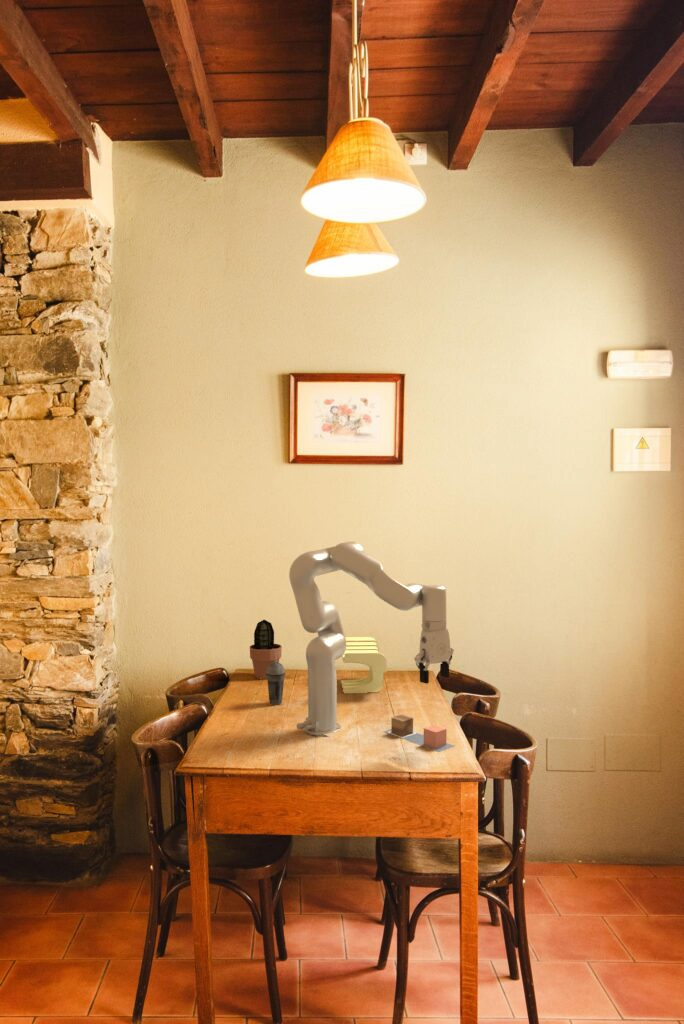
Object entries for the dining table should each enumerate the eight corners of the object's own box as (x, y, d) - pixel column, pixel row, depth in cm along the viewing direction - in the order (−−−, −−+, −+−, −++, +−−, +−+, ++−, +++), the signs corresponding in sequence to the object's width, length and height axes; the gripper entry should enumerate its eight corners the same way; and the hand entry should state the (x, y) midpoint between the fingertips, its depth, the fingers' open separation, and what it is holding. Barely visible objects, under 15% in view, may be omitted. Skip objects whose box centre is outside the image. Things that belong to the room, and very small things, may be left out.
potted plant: (287, 675, 310) (288, 618, 309) (268, 682, 298) (268, 623, 298) (263, 671, 317) (263, 615, 316) (243, 678, 306) (243, 619, 305)
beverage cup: (285, 700, 273) (286, 648, 272) (284, 706, 266) (285, 653, 265) (266, 700, 273) (266, 648, 272) (265, 706, 265) (265, 653, 265)
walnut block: (402, 736, 231) (402, 721, 231) (391, 732, 235) (391, 717, 235) (413, 733, 234) (413, 718, 234) (401, 729, 238) (401, 714, 238)
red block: (435, 748, 221) (435, 732, 221) (423, 744, 224) (423, 728, 224) (446, 744, 224) (446, 728, 224) (434, 740, 228) (434, 724, 228)
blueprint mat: (439, 755, 218) (439, 751, 218) (383, 734, 236) (383, 731, 236) (455, 749, 223) (455, 745, 223) (399, 729, 241) (399, 726, 241)
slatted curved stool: (386, 698, 276) (386, 652, 276) (345, 699, 275) (345, 653, 275) (377, 678, 306) (377, 636, 306) (339, 678, 305) (340, 637, 305)
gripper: (424, 630, 215) (425, 687, 216) (461, 623, 227) (461, 677, 227) (406, 627, 221) (406, 682, 221) (443, 620, 233) (443, 672, 233)
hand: (434, 679), depth 224 cm, fingers open, 9 cm apart
